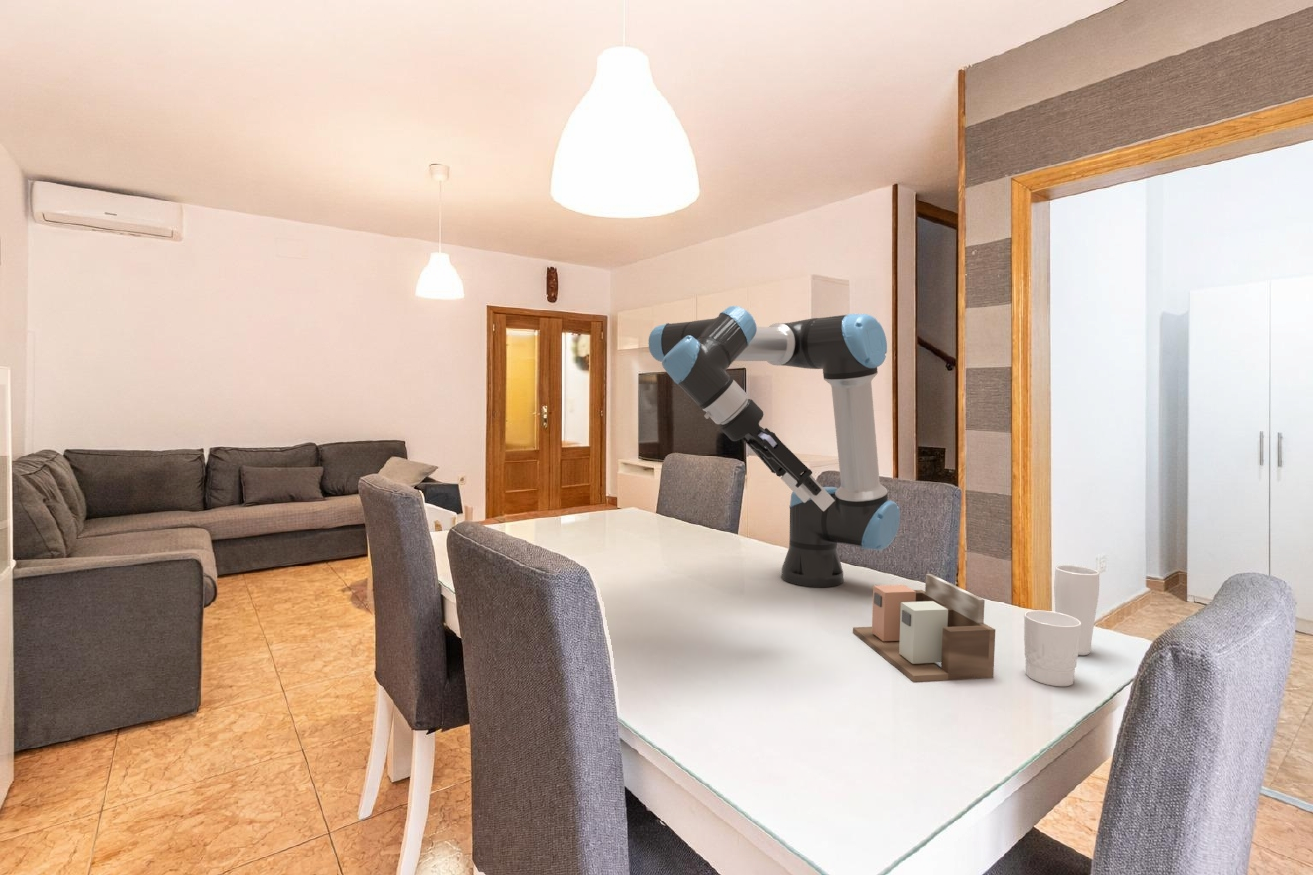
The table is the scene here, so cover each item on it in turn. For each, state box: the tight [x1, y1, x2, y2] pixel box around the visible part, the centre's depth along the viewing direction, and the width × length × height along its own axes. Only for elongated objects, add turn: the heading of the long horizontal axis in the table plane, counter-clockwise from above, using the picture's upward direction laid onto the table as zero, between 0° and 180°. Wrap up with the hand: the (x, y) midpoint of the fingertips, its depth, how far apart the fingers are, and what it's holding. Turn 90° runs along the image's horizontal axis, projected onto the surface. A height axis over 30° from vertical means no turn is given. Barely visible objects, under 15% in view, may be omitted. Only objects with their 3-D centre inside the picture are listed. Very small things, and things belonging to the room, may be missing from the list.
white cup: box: [1023, 609, 1081, 687], centre depth 105 cm, size 8×8×10 cm
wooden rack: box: [852, 573, 996, 683], centre depth 115 cm, size 22×14×12 cm, turn 8°
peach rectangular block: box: [871, 584, 916, 641], centre depth 120 cm, size 4×6×9 cm
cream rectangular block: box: [899, 601, 948, 664], centre depth 110 cm, size 4×6×9 cm
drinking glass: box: [1053, 564, 1100, 656], centre depth 117 cm, size 7×7×15 cm
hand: (818, 501), depth 117 cm, fingers open, 8 cm apart
